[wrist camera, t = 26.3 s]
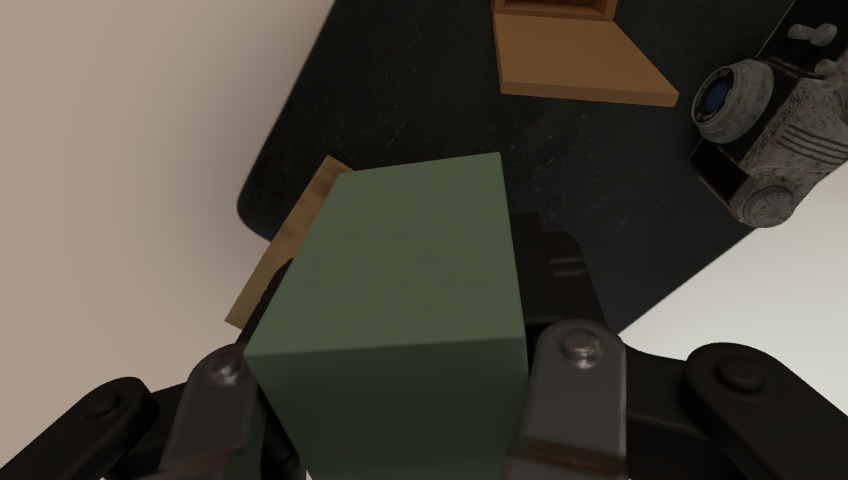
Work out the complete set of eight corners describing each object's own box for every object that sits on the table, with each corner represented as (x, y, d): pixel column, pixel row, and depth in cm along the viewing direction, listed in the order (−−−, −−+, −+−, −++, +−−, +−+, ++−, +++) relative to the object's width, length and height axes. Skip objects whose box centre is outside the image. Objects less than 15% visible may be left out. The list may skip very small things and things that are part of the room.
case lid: (502, 79, 19) (500, 94, 19) (680, 93, 19) (674, 107, 19) (494, 13, 28) (492, 23, 28) (614, 21, 28) (611, 32, 28)
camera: (768, -43, 30) (883, -34, 21) (860, -10, 30) (1007, 12, 22) (645, 160, 38) (694, 223, 30) (719, 183, 38) (787, 252, 30)
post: (294, 210, 43) (223, 321, 31) (328, 153, 40) (263, 253, 28) (358, 247, 45) (315, 366, 33) (395, 196, 42) (364, 308, 29)
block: (338, 172, 12) (239, 354, 7) (499, 150, 11) (525, 334, 6) (375, 294, 14) (322, 501, 9) (512, 282, 13) (539, 499, 8)
